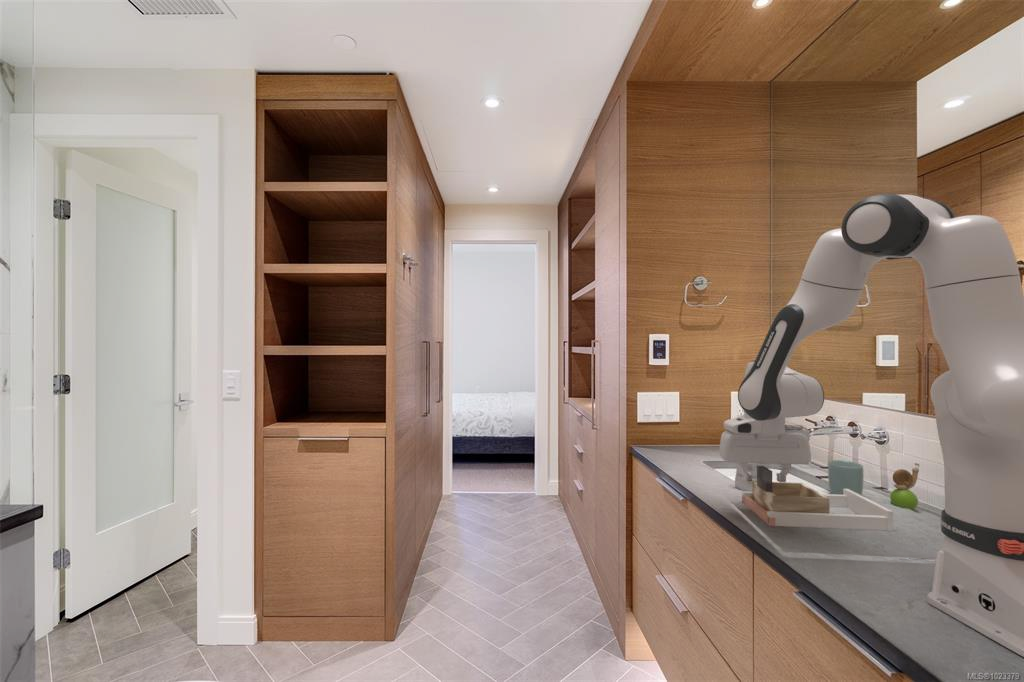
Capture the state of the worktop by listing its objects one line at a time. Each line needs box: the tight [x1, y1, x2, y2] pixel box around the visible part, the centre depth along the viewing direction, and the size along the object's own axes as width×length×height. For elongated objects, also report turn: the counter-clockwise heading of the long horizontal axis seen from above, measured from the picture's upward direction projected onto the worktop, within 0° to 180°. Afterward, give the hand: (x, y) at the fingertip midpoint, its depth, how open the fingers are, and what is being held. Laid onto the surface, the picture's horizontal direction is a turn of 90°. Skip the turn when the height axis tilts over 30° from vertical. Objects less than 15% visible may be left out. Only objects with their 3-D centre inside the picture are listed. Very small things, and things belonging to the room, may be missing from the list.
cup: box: [827, 459, 864, 496], centre depth 124 cm, size 8×8×10 cm
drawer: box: [753, 465, 830, 514], centre depth 111 cm, size 12×12×11 cm
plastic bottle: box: [734, 463, 759, 492], centre depth 131 cm, size 6×7×20 cm
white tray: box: [741, 489, 894, 532], centre depth 110 cm, size 16×26×6 cm, turn 84°
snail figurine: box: [889, 462, 920, 511], centre depth 117 cm, size 5×6×12 cm
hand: (764, 481), depth 111 cm, fingers open, 6 cm apart
